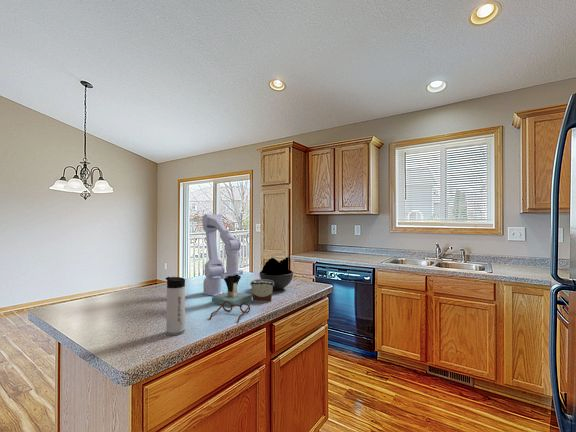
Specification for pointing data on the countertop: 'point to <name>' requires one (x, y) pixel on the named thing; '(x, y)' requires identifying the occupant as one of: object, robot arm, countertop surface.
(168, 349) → the countertop surface
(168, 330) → the travel mug
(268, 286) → the food container
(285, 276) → the bowl of black rocks
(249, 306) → the glasses
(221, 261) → the robot arm
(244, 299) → the holder plate
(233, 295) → the wood stick
